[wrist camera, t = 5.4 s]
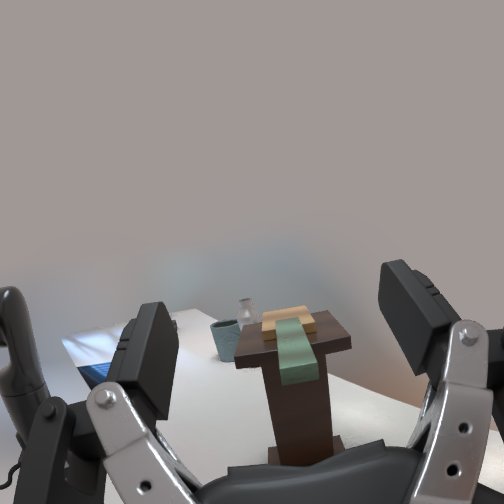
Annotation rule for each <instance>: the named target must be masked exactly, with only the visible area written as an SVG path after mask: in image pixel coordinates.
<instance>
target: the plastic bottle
mask: <svg viewBox="0 0 504 504" xmlns="http://www.w3.org/2000/svg"><path fill="white" fill-rule="evenodd" d="M252 305H253V303H252V300H251V299H250V298H248V299H242V300H239V307H240V311H239V313H238V316H237V322H238V325H239V328H240V331H242V327H243V325H248V324H254V323H260V317H259V314H258V312H257V311H256V310H255V309H254V308H252Z"/></svg>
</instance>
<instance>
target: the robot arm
mask: <svg viewBox="0 0 504 504" xmlns="http://www.w3.org/2000/svg"><path fill="white" fill-rule="evenodd" d="M378 302H379V307H380V310H381V312H382V314H383V316H384V318H385V319H386V321H387V323H388V325H389V327H390V328H391V330H392V332H393V334H394V336H395V338H396V339H397V341H398V343H399V345H400V347H401V349H402V351H403V352H404V354H405V357H406V358H407V360H408V362H409V364H410V366H411V368H412V370H413V372H414V374H415V376H417V375H421V374H423V373H427V375H428V377H429V379H430V380H429V383H428V386H427V391H426V394H425V397H424V401H423V405H422V408H421V411H420V415H419V418H418V421H417V424H416V427H415V429H414V431H413V433H412V435H411V437H410V440H409V442H408V444H407V446H406V448H405V447H394V446H388V447H385V443H384V440H383V439H381V440H377V441H374V442H371V443H367V444H364V445H360V446H357V447H353V448H349V449H346V450H344V451H342V452H340V453H338V454H336V455H334V456H332V457H330V458H327V459H325V460H323V461H321V462H319V463H316V464H314V465H312V466H308V467H299V466H284V465H273V464H260V465H250V466H236V467H228V475H227V476H223V477H221V478H218V479H215V480H213V481H211V482H209V483H207V484H206V485H204V486H203V485H202V484H201V483H200V482H199V481H198V480H197V478H196V477H195V476H194V475H193V474H192V473H191V472H190V471H189V470H188V469H187V468H186V467H185V465H184V464H183V463H182V462H181V460H180V459H179V458H178V456H177V455H176V454H175V452H174V451H173V450H172V448H171V447H170V445H169V444H168V443H167V441H166V440H165V438H164V437H163V436H162V434H161V433H160V431H159V430H158V429H157V428H156V420H168V414H169V406H170V399H171V392H172V386H173V379H174V373H175V367H176V360H177V354H178V348H179V340H178V334H177V331H176V329H175V327H174V325H173V322H172V320H171V318H170V316H169V313H168V311H167V309H166V306H165V305H164V303H163V302H154V303H147V304H142V305H141V307H140V310H139V313H138V315H137V318H136V319H131V321H130V322H129V323H128V324H127V325H126V327H125V328H124V329H123V332H122V334H121V337H120V342H118V345H117V348H116V349H117V351H115V353H114V356H113V359H112V362H111V365H110V368H109V371H108V374H107V377H106V380H105V382H104V383H101V384H99V385H97V386H96V387H95V388H94V389H93V390H92V391H91V392H90V394H89V395H88V397H87V400H85V401H82V402H78V403H74V404H70V405H67V404H66V403H65V401H64V400H63V399H61V398H60V397H55V396H54V397H51V395H50V393H49V390H48V388H47V385H46V382H45V380H44V377H43V374H42V369H41V364H40V358H39V355H38V351H37V348H36V344H35V339H34V335H33V330H32V326H31V320H30V316H29V311H28V308H27V304H26V301H25V299H24V296H23V295H22V293H21V292H20V290H19V289H18V288H16V287H13V286H8V287H2V288H0V348H5V347H8V350H9V355H10V363H9V365H7V366H6V367H4V368H3V369H1V370H0V395H1V397H2V399H3V402H4V404H5V406H6V409H7V411H8V413H9V415H10V417H11V420H12V421H13V423H14V426H15V428H16V429H17V434H16V438H17V440H18V442H19V444H20V446H21V448H22V452H21V455H20V457H19V460H18V464H16V465H15V466H13V467H12V468H11V469H10V471H9V473H8V481H7V482H6V483H5V484H3V485H0V490H2V489H5V488H7V487H9V486H10V485H11V483H12V475H13V473H14V472H15V471H16V470H17V469H18V468H20V472H19V476H18V481H17V486H16V491H15V496H14V502H13V504H104V493H105V483H106V474H107V473H108V475H109V477H110V479H111V481H112V483H113V485H114V486H115V488H116V490H117V492H118V494H119V496H120V497H121V499H122V501H123V502H124V504H504V494H502V493H500V492H498V491H495V490H493V489H491V488H489V487H487V486H485V485H482V484H480V483H478V479H479V475H480V471H481V467H482V463H483V459H484V454H485V450H486V445H487V439H488V434H489V428H490V421H491V414H492V416H493V418H494V420H495V423H496V425H497V427H498V430H499V432H500V435H501V437H502V440H503V442H504V327H503V329H498V330H485V328H484V327H483V326H482V325H480V324H479V323H477V322H475V321H472V320H462V319H461V318H460V317H459V315H458V314H457V313H456V312H455V310H454V309H453V308H452V306H451V305H450V304H449V303H448V301H447V300H446V299H445V298H444V296H443V295H442V294H440V291H439V290H438V289H437V288H436V287H434V284H433V283H432V282H431V281H430V279H428V277H427V276H425V275H424V274H422V273H421V272H419V271H417V270H411V269H410V267H409V266H408V265H407V264H406V263H405V262H404V261H403V260H402V259H399V260H395V261H390V262H385V263H383V264H382V266H381V274H380V283H379V293H378Z"/></svg>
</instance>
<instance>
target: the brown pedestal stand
mask: <svg viewBox="0 0 504 504" xmlns="http://www.w3.org/2000/svg"><path fill="white" fill-rule="evenodd" d="M311 316H312V317H313V319H314V321H315V323H316V332H312V333H307V334H306V336H307V338H308V341H309V343H310V346H311V348H312V350H313V353H314V355H315V358H316V360H317V363H318V371H319V379H317V380H312V381H306V382H301V383H295V384H290V385H284V386H283V385H282V381H281V375H280V369H279V358H278V347H277V339H273V340H267V341H263V336H262V322H260V323H254V324H248V325H243V327H242V331H241V334H240V337H239V341H238V344H237V347H236V351H235V354H234V361H235V366H236V369H242V368H249V367H257V366H261V368H262V373H263V379H264V384H265V389H266V394H267V399H268V404H269V410H270V415H271V420H272V425H273V430H274V435H275V440H276V445H277V446H276V447H268V464H273V465H284V466H299V467H308V466H312V465H314V464H316V463H319V462H321V461H323V460H325V459H327V458H330V457H332V456H334V455H336V454H338V453H340V452H342V451H344V450H345V449H344V446H343V443H342V440H341V438H340V435H337V436H333V432H332V419H331V407H330V396H329V385H328V375H327V366H326V357H325V354H330V353H334V352H339V351H344V350H348V349H351V348H352V346H351V336H350V335H349V334H348V333H347V331H346V330H345V329H344V328H343V327H342V326H341V325H340V323H339V322H338V321H337V320H336V319H335V318H334V317H333V316H332V315H331V313H330V312H329V311H328V310H327V311H322V312H316V313H311Z"/></svg>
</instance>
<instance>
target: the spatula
mask: <svg viewBox="0 0 504 504" xmlns="http://www.w3.org/2000/svg"><path fill="white" fill-rule="evenodd" d="M312 332H316V323H315V321H314V319H313V317H312V316H311V314H310V312H309V311H308V309H307V308H306V306H305V305H304V306H299V307H294V308H288V309H282V310H276V311H271V312H265V313H263V319H262V336H263V341H267V340H273V339H277V347H278V358H279V369H280V375H281V381H282V385H283V386H284V385H290V384H295V383H301V382H306V381H312V380H317V379H319V371H318V363H317V360H316V358H315V355H314V353H313V350H312V348H311V346H310V343H309V341H308V338H307V336H306V334H307V333H312Z"/></svg>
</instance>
